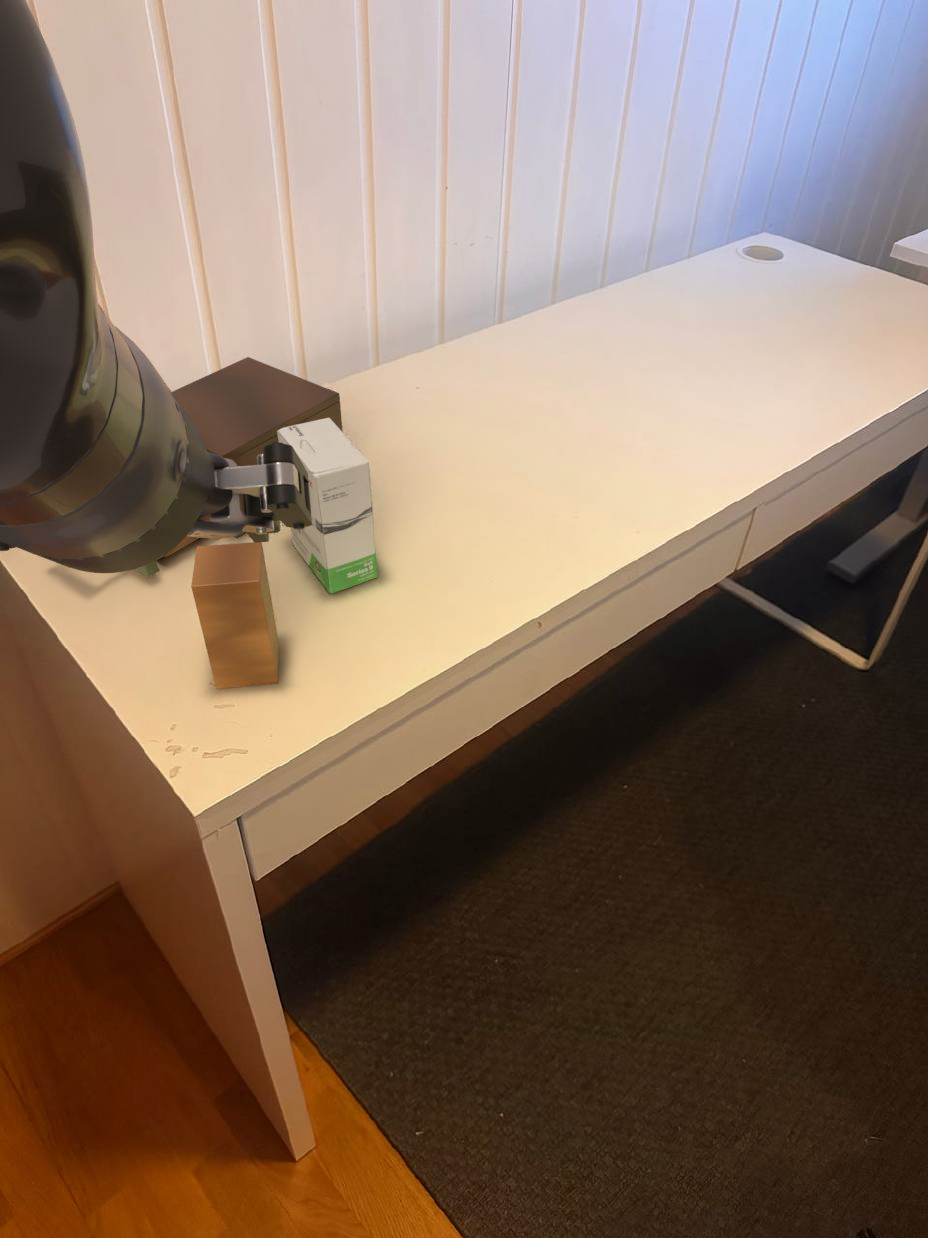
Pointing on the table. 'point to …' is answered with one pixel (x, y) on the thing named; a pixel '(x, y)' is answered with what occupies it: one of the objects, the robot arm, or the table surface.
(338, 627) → the table surface
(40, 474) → the robot arm
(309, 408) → the cabinet
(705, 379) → the table surface
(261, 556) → the brown wooden block
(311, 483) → the ink box
